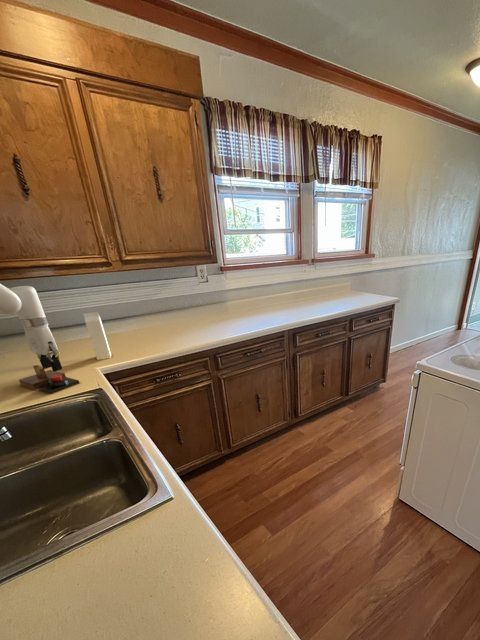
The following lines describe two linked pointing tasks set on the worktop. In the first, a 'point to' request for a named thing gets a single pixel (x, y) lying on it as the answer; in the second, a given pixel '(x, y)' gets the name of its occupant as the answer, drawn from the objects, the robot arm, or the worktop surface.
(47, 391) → the button block
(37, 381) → the lock plate
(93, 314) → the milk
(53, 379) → the button
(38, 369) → the brown rectangular block
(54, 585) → the worktop surface
